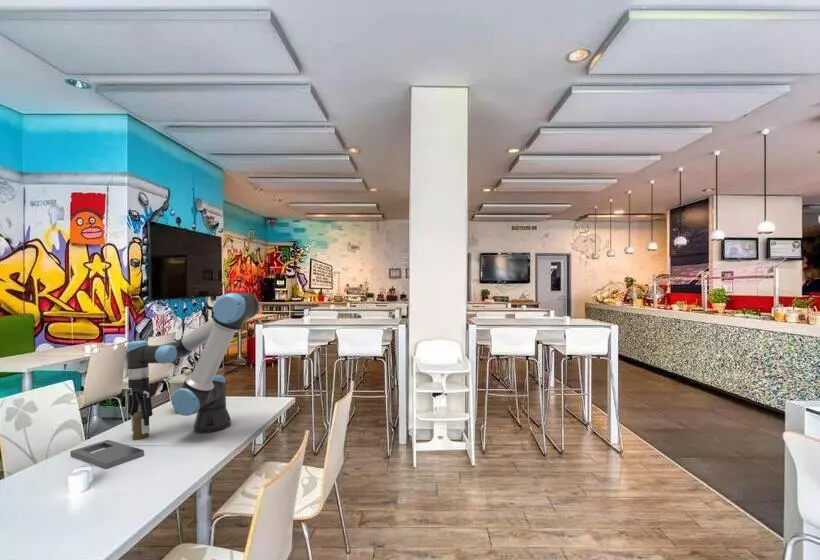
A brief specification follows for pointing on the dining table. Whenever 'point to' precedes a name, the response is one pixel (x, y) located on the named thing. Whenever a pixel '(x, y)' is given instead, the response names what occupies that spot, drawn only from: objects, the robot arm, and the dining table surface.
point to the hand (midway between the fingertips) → (140, 431)
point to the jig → (107, 453)
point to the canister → (178, 381)
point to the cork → (138, 427)
